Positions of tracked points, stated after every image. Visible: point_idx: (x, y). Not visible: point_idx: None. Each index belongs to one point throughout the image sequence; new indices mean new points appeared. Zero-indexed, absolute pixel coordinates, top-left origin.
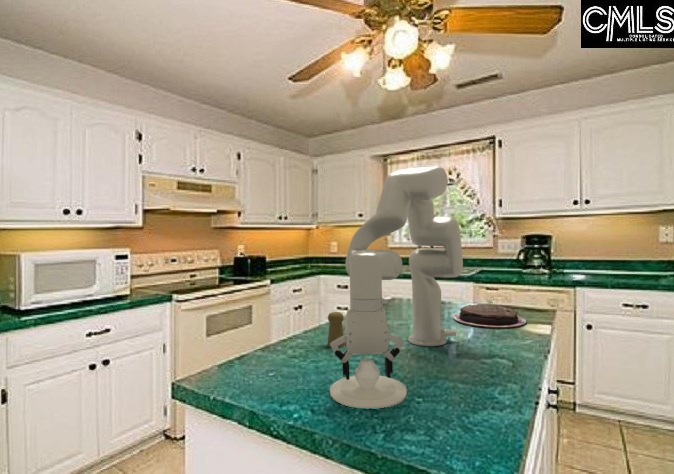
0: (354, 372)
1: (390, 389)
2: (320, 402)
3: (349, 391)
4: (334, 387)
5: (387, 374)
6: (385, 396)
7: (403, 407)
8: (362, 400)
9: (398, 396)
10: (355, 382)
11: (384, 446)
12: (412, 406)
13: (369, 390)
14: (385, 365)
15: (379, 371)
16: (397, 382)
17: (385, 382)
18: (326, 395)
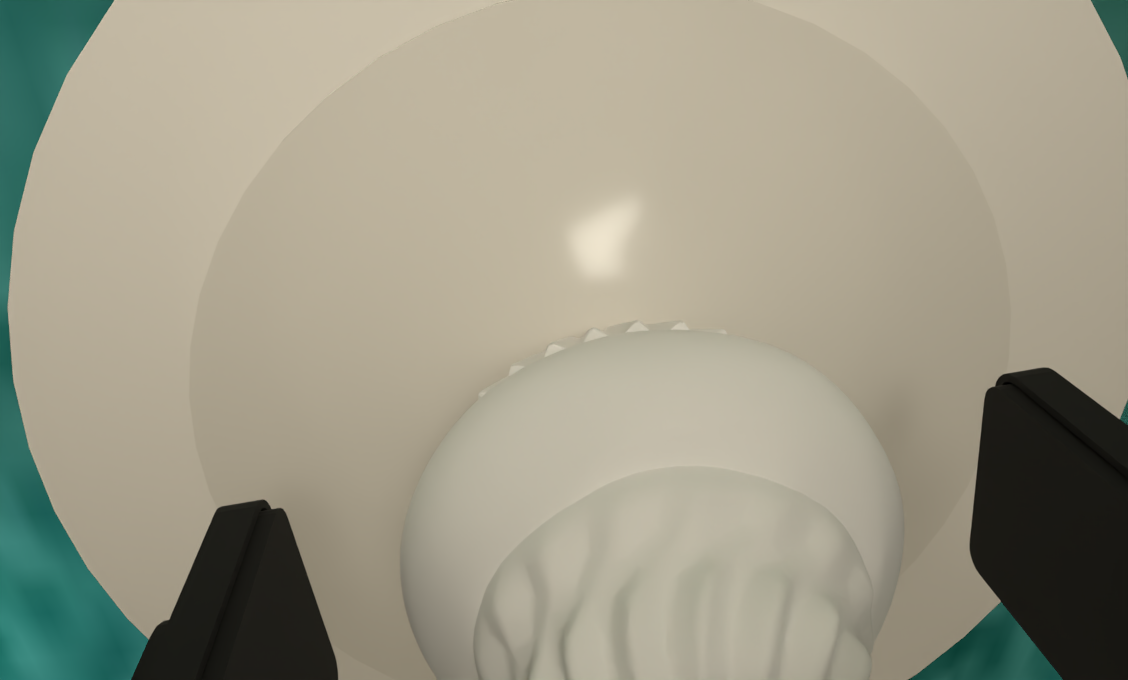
0: (409, 619)
1: (919, 457)
2: (35, 665)
3: (358, 552)
4: (90, 409)
5: (1001, 596)
6: None
7: (939, 672)
8: None
9: (960, 595)
10: (411, 235)
11: None
12: (1030, 647)
13: None
14: (1089, 537)
15: (894, 589)
16: (1098, 171)
17: (911, 212)
18: (37, 495)
